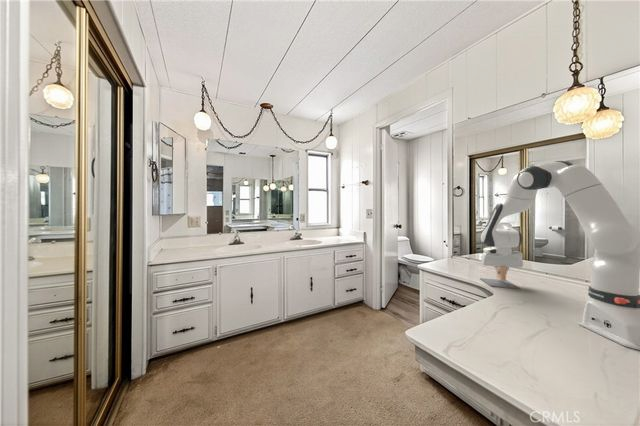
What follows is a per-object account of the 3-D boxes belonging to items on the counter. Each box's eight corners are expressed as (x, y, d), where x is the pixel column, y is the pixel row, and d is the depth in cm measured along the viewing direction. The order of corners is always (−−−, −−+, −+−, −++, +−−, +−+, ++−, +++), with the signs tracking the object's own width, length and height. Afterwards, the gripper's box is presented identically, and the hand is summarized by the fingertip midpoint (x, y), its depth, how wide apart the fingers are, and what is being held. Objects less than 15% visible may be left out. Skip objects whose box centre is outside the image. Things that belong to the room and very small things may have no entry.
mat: (520, 288, 129) (520, 287, 129) (490, 286, 132) (490, 285, 132) (506, 281, 142) (506, 280, 142) (480, 279, 146) (480, 278, 146)
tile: (505, 280, 136) (506, 266, 135) (501, 280, 136) (502, 266, 136) (500, 277, 141) (500, 264, 141) (496, 277, 142) (496, 264, 142)
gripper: (519, 250, 139) (518, 273, 139) (480, 248, 144) (479, 271, 144) (526, 252, 133) (525, 276, 133) (484, 250, 137) (484, 274, 138)
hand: (501, 273), depth 139 cm, fingers closed on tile, 2 cm apart
